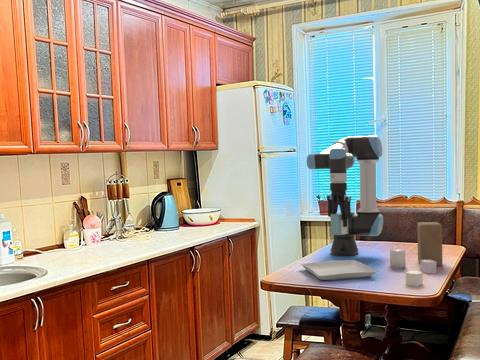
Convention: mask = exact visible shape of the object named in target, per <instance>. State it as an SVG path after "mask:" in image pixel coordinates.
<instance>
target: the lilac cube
mask: <svg viewBox="0 0 480 360" xmlns="http://www.w3.org/2000/svg"><path fill="white" fill-rule="evenodd" d="M419 264H420V266H419V267H420V271H419V272H423V273H425V274H434V273H437V266H436V261H433V260H420V263H419Z"/></svg>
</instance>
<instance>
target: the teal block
mask: <svg viewBox="0 0 480 360" xmlns="http://www.w3.org/2000/svg"><path fill="white" fill-rule="evenodd" d="M330 215H331V217H330V235H333V234H335V235H343V234H341V219H342V216H341V213H340V212H337V214H331V213H330ZM344 217H345V216H344ZM347 234H348V219H347Z"/></svg>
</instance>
